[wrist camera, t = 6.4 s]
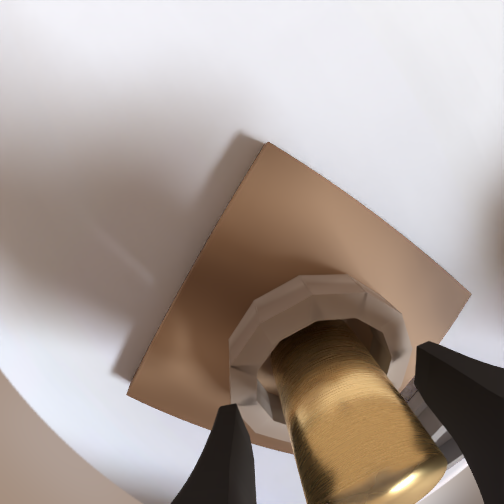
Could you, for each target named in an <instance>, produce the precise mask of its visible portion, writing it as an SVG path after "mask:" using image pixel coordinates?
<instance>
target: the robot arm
mask: <svg viewBox="0 0 504 504" xmlns="http://www.w3.org/2000/svg"><path fill="white" fill-rule="evenodd" d="M414 384H415V386H416V388H417V389H418V391H419V393H420V395H421V396H422V398H423V400H424V401H425V403H426V404H427V405H428V407H429V408H430V409H431V411H432V412H433V413H434V414H435V416H436V417H437V418H438V420H439V421H440V422H441V423H442V425H443V426H444V427H445V428H446V430H447V431H448V432H449V434H450V435H451V436H452V438H453V439H454V440H455V442H456V443H457V445H458V447H459V449H460V450H461V452H462V454H463V456H464V457H465V459H466V461H467V463H468V465H469V467H470V469H471V471H472V473H473V476H474V478H475V480H476V482H477V484H478V487H479V489H480V492H481V495H482V498H483V501H484V504H504V368H500V367H497V366H493V365H490V364H487V363H484V362H481V361H478V360H475V359H473V358H470V357H467V356H465V355H462V354H460V353H458V352H455V351H453V350H450V349H448V348H446V347H443V346H441V345H439V344H436V343H434V342H431V341H427V342H425V343H423V344H420V345H418V346H417V347H416V366H415V380H414ZM171 504H256V487H255V469H254V457H253V451H252V445H251V440H250V436H249V433H248V431H247V428H246V426H245V424H244V421H243V419H242V416H241V414H240V411H239V409H238V406H237V404H236V403H234V404H229V405H225V406H220V407H219V409H218V412H217V415H216V418H215V421H214V424H213V427H212V430H211V433H210V435H209V438H208V440H207V442H206V445H205V447H204V450H203V452H202V454H201V456H200V458H199V460H198V462H197V464H196V466H195V468H194V470H193V471H192V473H191V475H190V477H189V478H188V480H187V481H186V483H185V484H184V486H183V488H182V489H181V490H180V492H179V493H178V495H177V496H176V497H175V499H174V500H173V501H172V503H171Z"/></svg>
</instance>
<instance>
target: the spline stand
mask: <svg viewBox="0 0 504 504" xmlns="http://www.w3.org/2000/svg"><path fill="white" fill-rule="evenodd" d="M407 404H408V406H409V407H410V408H411V410H412V411H413V412H414V414H415V415H416V417H417V418H418V419H419V421H420V422H421V424H422V425H423V426H424V428H425V429H426V431H427V432H428V433H429V435H430V436H431V438H432V439H433V441H434V442H435V443H436V445H437V446H438V448H439V449H440V451H441V452H442V453H443V455H444V456H445V458H446V460H447V469H446V470H448V469H449V468H451V467H452V466H454V465H455V464H456V463H458V462H459V461H461V460H462V459H463V458H465V457H464V456H463V454H462V452H461V450H460V449H459V447H458V445H457V443H456V442H455V440H454V439H453V438H452V436H451V435H450V434H449V432H448V431H447V430H446V428H445V427H444V426H443V425H442V423H441V422H440V421H439V420H438V418H437V417H436V416H435V414H434V413H433V412H432V411H431V409H430V408H429V407H428V405H427V404H426V403H425V401H424V400H423V398H422V396H421V395H420V393H419V391H417V392H416V393H415V394H414V396H413V397H412V398H411V399H410V400H409V401H408V402H407Z"/></svg>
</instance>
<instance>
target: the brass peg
mask: <svg viewBox="0 0 504 504" xmlns="http://www.w3.org/2000/svg"><path fill="white" fill-rule="evenodd" d="M270 362H271V367H272V371H273V375H274V379H275V383H276V387H277V391H278V395H279V399H280V402H281V406H282V410H283V414H284V418H285V422H286V426H287V430H288V433H289V437H290V441H291V445H292V449H293V453H294V456H295V460H296V464H297V468H298V472H299V476H300V479H301V483H302V487H303V491H304V494H305V498H306V502H307V504H415V503H416V502H418V501H419V500H420V499H422V498H423V497H424V496H425V495H426V494H428V493H429V492H430V491H431V490H432V489H433V488H434V487H435V486H436V485H437V483H438V482H439V481H440V480H441V478H442V477H443V475H444V473H445V471H446V469H447V460H446V458H445V456H444V455H443V453H442V452H441V451H440V449H439V448H438V446H437V445H436V443H435V442H434V441H433V439H432V438H431V436H430V435H429V433H428V432H427V431H426V429H425V428H424V426H423V425H422V424H421V422H420V421H419V419H418V418H417V417H416V415H415V414H414V412H413V411H412V410H411V408H410V407H409V406H408V404H407V403H406V401H405V400H404V399H403V397H402V396H401V394H400V393H399V392H398V390H397V389H396V388H395V386H394V385H393V384H392V382H391V381H390V379H389V378H388V377H387V375H386V374H385V373H384V371H383V370H382V369H381V367H380V366H379V365H378V363H377V362H376V361H375V359H374V358H373V357H372V355H371V354H370V353H369V351H368V350H367V349H366V347H365V346H364V345H363V343H362V342H361V341H360V339H359V338H358V337H357V335H356V334H355V333H354V332H353V330H352V329H351V328H350V326H349V325H348V324H347V323H346V322H344V321H343V320H341V319H335V320H320V321H316V322H314V323H312V324H310V325H309V326H307V327H305V328H303V329H301V330H299V331H298V332H296V333H294V334H292V335H290V336H288V337H286V338H284V339H283V340H281V341H279V343H278V344H277V345H276V347H275V348H274V350H273V351H272V352H271V355H270Z"/></svg>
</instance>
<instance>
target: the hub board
mask: <svg viewBox="0 0 504 504" xmlns="http://www.w3.org/2000/svg"><path fill="white" fill-rule="evenodd" d="M470 296H471V293H470V292H469V291H468V290H467V289H465V288H464V287H463V286H462V285H461V284H460V283H459V282H458V281H457V280H456V279H454V278H453V277H452V276H451V275H450V274H449V273H448V272H446V271H445V270H444V269H443V268H442V267H441V266H439V265H438V264H437V263H436V262H435V261H434V260H432V259H431V258H430V257H429V256H428V255H426V254H425V253H424V252H423V251H422V250H420V249H419V248H418V247H417V246H416V245H414V244H413V243H412V242H411V241H409V240H408V239H407V238H406V237H404V236H403V235H402V234H401V233H399V232H398V231H397V230H395V229H394V228H393V227H392V226H390V225H389V224H388V223H386V222H385V221H384V220H383V219H381V218H380V217H379V216H377V215H376V214H375V213H373V212H372V211H371V210H369V209H368V208H366V207H365V206H364V205H362V204H361V203H360V202H358V201H357V200H355V199H354V198H353V197H351V196H350V195H349V194H347V193H346V192H344V191H343V190H341V189H340V188H339V187H337V186H336V185H334V184H333V183H331V182H330V181H328V180H327V179H326V178H324V177H323V176H321V175H320V174H318V173H317V172H315V171H314V170H312V169H311V168H309V167H308V166H306V165H305V164H303V163H301V162H300V161H298V160H297V159H295V158H294V157H292V156H291V155H289V154H287V153H286V152H284V151H283V150H281V149H279V148H278V147H276V146H275V145H273V144H271V143H270V142H267V143H266V144H265V145H264V146H263V148H262V149H261V151H260V153H259V154H258V156H257V158H256V159H255V161H254V162H253V164H252V166H251V167H250V169H249V171H248V172H247V174H246V176H245V177H244V179H243V180H242V182H241V184H240V185H239V187H238V189H237V190H236V192H235V194H234V195H233V197H232V199H231V201H230V202H229V204H228V206H227V207H226V209H225V211H224V212H223V214H222V216H221V217H220V219H219V221H218V223H217V224H216V226H215V228H214V230H213V231H212V233H211V235H210V236H209V238H208V240H207V242H206V243H205V245H204V247H203V249H202V250H201V252H200V254H199V256H198V257H197V259H196V261H195V263H194V265H193V266H192V268H191V270H190V272H189V274H188V275H187V277H186V279H185V281H184V283H183V284H182V286H181V288H180V290H179V292H178V293H177V295H176V297H175V299H174V301H173V303H172V304H171V306H170V308H169V310H168V312H167V314H166V316H165V317H164V319H163V321H162V323H161V325H160V327H159V329H158V331H157V333H156V334H155V336H154V338H153V340H152V342H151V344H150V346H149V348H148V350H147V352H146V354H145V356H144V358H143V359H142V361H141V363H140V365H139V367H138V369H137V371H136V373H135V375H134V377H133V379H132V381H131V383H130V386H129V389H128V392H127V394H126V395H128V396H130V397H132V398H134V399H136V400H138V401H140V402H142V403H145V404H147V405H149V406H151V407H153V408H156V409H158V410H160V411H163V412H165V413H167V414H170V415H172V416H175V417H177V418H180V419H182V420H185V421H187V422H190V423H192V424H195V425H198V426H200V427H203V428H206V429H209V430H212V427H213V424H214V421H215V418H216V415H217V412H218V409H219V407H220V406H225V405H229V404H234V403H236V404H237V406H238V409H239V411H240V414H241V416H242V419H243V421H244V424H245V426H246V428H247V431H248V433H249V436H250V440H251V443H252V444H255V445H259V446H263V447H266V448H270V449H274V450H278V451H282V452H286V453H290V454H294V453H293V449H292V445H291V441H290V437H289V433H288V430H287V426H286V422H285V418H284V414H283V410H282V406H281V402H280V399H279V395H278V391H277V387H276V383H275V379H274V375H273V371H272V367H271V362H270V355H271V352H272V351H273V350H274V348H275V347H276V345H277V344H278V343H279V341H281V340H283V339H284V338H286V337H288V336H290V335H292V334H294V333H296V332H298V331H299V330H301V329H303V328H305V327H307V326H309V325H310V324H312V323H314V322H316V321H320V320H335V319H341V320H343V321H344V322H346V323H347V324H348V325H349V326H350V328H351V329H352V330H353V332H354V333H355V334H356V335H357V337H358V338H359V339H360V341H361V342H362V343H363V345H364V346H365V347H366V349H367V350H368V351H369V353H370V354H371V355H372V357H373V358H374V359H375V361H376V362H377V363H378V365H379V366H380V367H381V369H382V370H383V371H384V373H385V374H386V375H387V377H388V378H389V379H390V381H391V382H392V384H393V385H394V386H395V388H396V389H397V390H398V392H399V393H401V392H402V390H403V389H404V388H405V387H406V386H407V384H408V383H409V382H410V381H411V380H412V378H413V377H414V376H415V366H416V347H417V346H418V345H420V344H423V343H425V342H427V341H431V342H434V343H436V344H439V343H440V342H441V340H442V339H443V337H444V336H445V335H446V333H447V332H448V330H449V329H450V327H451V326H452V324H453V323H454V321H455V320H456V318H457V317H458V315H459V314H460V312H461V310H462V309H463V307H464V306H465V304H466V302H467V301H468V299H469V297H470Z"/></svg>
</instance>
